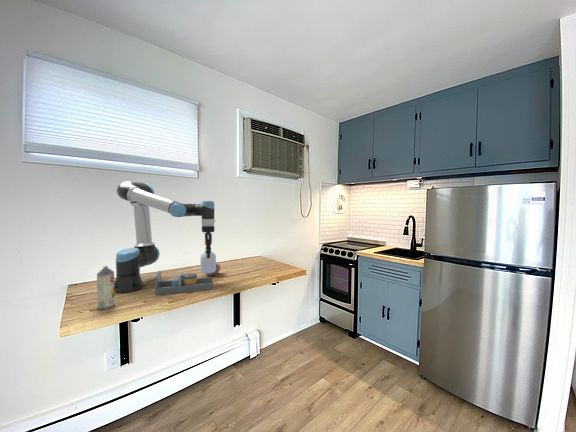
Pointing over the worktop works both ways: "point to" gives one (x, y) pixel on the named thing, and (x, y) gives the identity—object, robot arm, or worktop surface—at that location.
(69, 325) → the worktop surface
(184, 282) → the amber jar
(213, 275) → the pink pumpkin
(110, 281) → the aerosol can
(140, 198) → the robot arm
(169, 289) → the grey slotted block
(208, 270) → the soap bottle
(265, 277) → the worktop surface
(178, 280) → the pusher
